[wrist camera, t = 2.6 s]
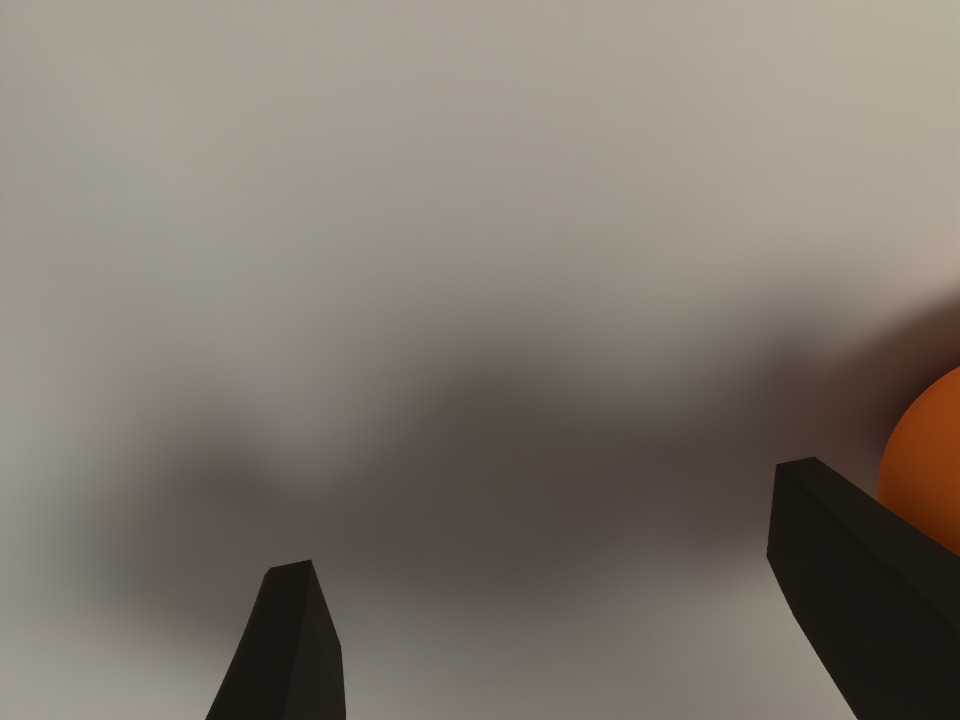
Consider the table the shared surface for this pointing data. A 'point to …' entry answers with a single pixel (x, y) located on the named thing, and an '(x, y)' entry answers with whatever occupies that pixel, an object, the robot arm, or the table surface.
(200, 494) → the table surface
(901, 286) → the table surface
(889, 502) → the ball
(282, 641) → the robot arm
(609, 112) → the table surface
